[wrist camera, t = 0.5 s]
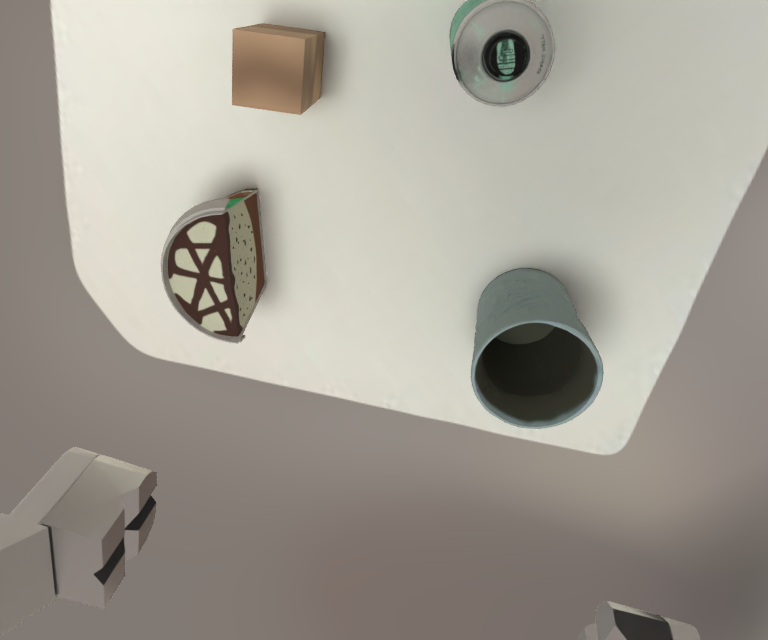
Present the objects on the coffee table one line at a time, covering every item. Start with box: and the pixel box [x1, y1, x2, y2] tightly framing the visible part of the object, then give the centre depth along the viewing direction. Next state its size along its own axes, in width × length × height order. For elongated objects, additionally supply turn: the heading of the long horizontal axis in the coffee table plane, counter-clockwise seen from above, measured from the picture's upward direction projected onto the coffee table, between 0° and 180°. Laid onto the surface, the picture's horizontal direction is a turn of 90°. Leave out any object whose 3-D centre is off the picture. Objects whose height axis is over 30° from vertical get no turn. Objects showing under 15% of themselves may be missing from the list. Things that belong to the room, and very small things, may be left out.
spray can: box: [450, 0, 555, 106], centre depth 40 cm, size 6×6×20 cm
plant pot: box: [471, 268, 603, 429], centre depth 54 cm, size 10×10×12 cm
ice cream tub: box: [161, 189, 267, 343], centre depth 54 cm, size 12×6×10 cm, turn 179°
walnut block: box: [232, 23, 325, 115], centre depth 47 cm, size 5×5×8 cm
